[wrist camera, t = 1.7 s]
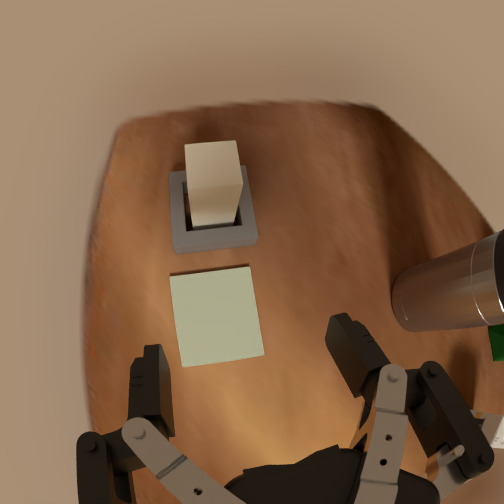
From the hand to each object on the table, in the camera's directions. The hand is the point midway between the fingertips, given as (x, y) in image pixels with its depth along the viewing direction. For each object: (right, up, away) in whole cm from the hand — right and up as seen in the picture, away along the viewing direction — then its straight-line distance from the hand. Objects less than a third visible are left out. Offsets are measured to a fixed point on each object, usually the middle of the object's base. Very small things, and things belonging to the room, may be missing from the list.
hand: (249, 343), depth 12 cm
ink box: (+35, -25, +18) cm, 46 cm away
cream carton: (-5, +9, +21) cm, 23 cm away
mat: (-4, -3, +18) cm, 18 cm away
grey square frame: (-5, +9, +21) cm, 23 cm away
